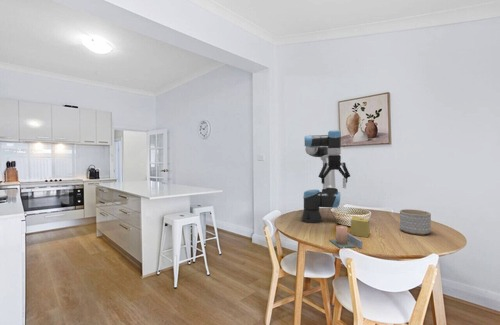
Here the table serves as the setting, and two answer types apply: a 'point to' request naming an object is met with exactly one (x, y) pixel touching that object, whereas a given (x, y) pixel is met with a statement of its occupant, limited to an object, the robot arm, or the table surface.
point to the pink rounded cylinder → (341, 235)
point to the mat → (342, 245)
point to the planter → (415, 221)
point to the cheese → (360, 226)
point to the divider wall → (355, 241)
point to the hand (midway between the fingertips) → (334, 188)
